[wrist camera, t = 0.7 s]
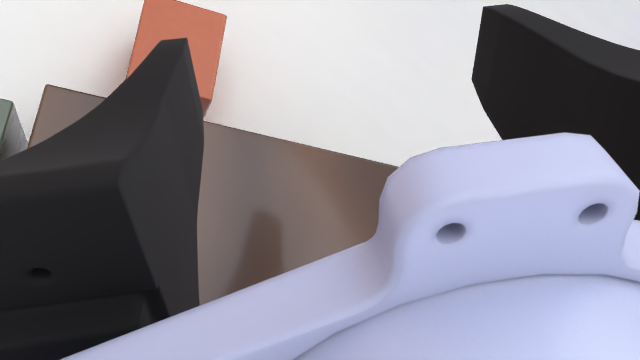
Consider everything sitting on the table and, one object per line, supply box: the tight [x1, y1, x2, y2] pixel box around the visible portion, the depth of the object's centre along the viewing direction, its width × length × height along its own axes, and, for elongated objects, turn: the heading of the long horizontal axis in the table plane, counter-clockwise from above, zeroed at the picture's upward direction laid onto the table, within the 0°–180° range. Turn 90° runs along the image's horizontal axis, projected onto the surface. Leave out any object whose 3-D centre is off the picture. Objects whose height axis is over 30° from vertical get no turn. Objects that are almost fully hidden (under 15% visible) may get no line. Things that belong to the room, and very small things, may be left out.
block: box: [126, 0, 227, 118], centre depth 28 cm, size 4×5×4 cm
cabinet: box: [27, 84, 399, 305], centre depth 24 cm, size 15×13×8 cm
